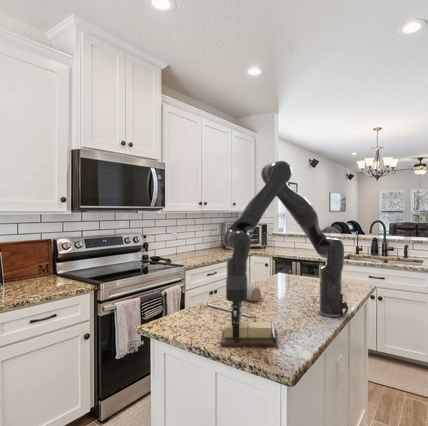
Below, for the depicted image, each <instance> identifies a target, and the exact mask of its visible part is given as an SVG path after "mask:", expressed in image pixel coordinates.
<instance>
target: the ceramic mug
mask: <svg viewBox="0 0 428 426" xmlns="http://www.w3.org/2000/svg"><path fill="white" fill-rule="evenodd" d="M261 293H262V292H261V289H260V288H259V287H257V286H255V285H251V284H249V283H247V299H246V300H245V301H249V302H253V303H254V302H257V301H259V300H260V299H262V297H263V294H261Z"/></svg>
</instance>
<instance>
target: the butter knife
mask: <svg viewBox="0 0 428 426" xmlns="http://www.w3.org/2000/svg"><path fill="white" fill-rule="evenodd" d="M206 305H207V306H210V307H213V308H217V309H221V310H224V311H229V312H231V309H229V308H225V307H222V306H219V305H216V304H213V303H207V304H206ZM242 315H243V316H247V317H253V315H251V314H249V313H245V312H242ZM242 315H241V316H242Z"/></svg>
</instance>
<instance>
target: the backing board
mask: <svg viewBox="0 0 428 426" xmlns="http://www.w3.org/2000/svg"><path fill="white" fill-rule="evenodd" d="M270 323H271V327H272V338H249V326H248V337H247V338H239V337H225V332H224V334H223V337H222V339H221V345H220V346H221V348H225V347H226V348H227V347H228V348H246V347H247V348H276V332H275V330H276V329H275V324H274V321H271V322H270Z"/></svg>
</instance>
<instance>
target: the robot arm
mask: <svg viewBox="0 0 428 426" xmlns="http://www.w3.org/2000/svg"><path fill="white" fill-rule="evenodd" d="M260 172H261V173H260V175H261V179H262V182H263V183H264V186H263V187H262V188H261V190H259V191H258V193H256V195H254V196H253V197H252V198H251V199H250V201H249V202H248V203H247V205H245V208H244V209H243V210H242V212H241V213H240V216H239V217H238V218H237V219H236V220H234V222H233V223H232V224H231V226H229V227H228V229H227V230H226V231H225V232H224V235H223V245H224V246H225V247H226V248H227V249H229V250H233V252H232V256H229V257H228V258H227V260H226V277H225V278H226V279H225V299H226V301H228V302H232V303H231V305H230V310H231V311H230V320H231V322H232V324H231V326H232V327H233V337H239V326H240V322H241V320H242V313H243V303H242V302H245V301H247V300H246V299H247V284H248V272H247V271H248V270H247V269H248V268H247V267H248V266H247V263H248V258H249V254H250V251H251V246H252V240H251V236H250V235H249V231H253V230H254V229H256V227H257V226H258V224H259V223H260V221H261V219H262V218H263V216H264V214H265V212H267V209H268V208H269V206H270V205H271V204H272V202H273V201H274V200H275V198H276V197H277V198H278V200H279V201H280V202H281V204H282V205H283V206H284V208H285V209H286V210H287V211H288V213H289V214H290V216H291V217H292V219H293V220H294V221H295V223H296V224H297V225H298V226H299V227H300V229H301V230H302V231H303V233H304V235H306V237H307V238H308V239H309V241H310V243H311V245H312V247H313V248H314V250H315V252H316V253H317V254H318V256H320V257H321V258H323V259H325V260H326V264H325V265H324V266H321V267H320V269H319V300H318V301H319V302H318V303H319V314H320V315H322V316H323V317H324V316H325V317H329V318H330V317H331V318H337V317H342V316H344V315H346V314H347V313H348V311H349V305H348V302H347V301H346V300H345V299H344V293H343V292H342V276H343V275H342V273H343V270H344V266H345V265H344V263H345V245H344V243H343V241H342V240H341V239H339V238H333V237H328V236H326V234H325V233H324V232H323V230H322V229H321V227H320V224H319V216H318V213H317V211H316V210H315V208H314V207H313V205H312V204H311V202H309V200H308V199H306V197H303V195H301V194H299V192H296V191H295V190H293V189H292V188H291V187H290V186H289V185H288V183H289V181H290V180H291V178H292V173H293V172H292V167H291V165H290V164H289V163H288V162H287V161H285V160H278V161H274V162H271V163H268V164H265V165H264V166H263V167H262V168H261V171H260ZM234 322H238V323H234Z"/></svg>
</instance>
